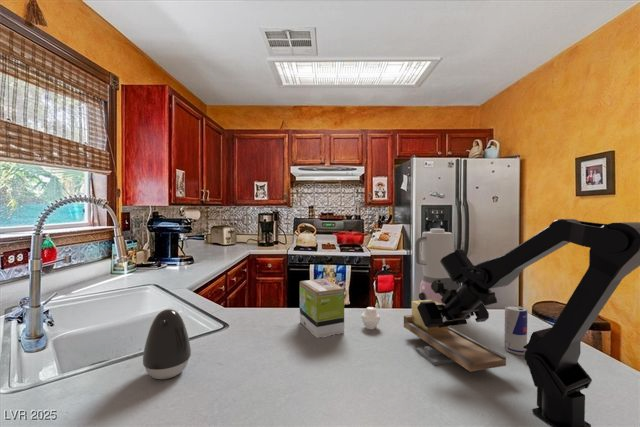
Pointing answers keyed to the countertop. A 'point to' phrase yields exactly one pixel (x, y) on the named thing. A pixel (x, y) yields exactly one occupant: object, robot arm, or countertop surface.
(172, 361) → the dark grey egg shape
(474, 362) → the seesaw beam
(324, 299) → the tea box
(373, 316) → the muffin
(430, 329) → the tan boxy block
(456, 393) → the countertop surface
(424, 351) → the pivot stand
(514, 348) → the energy drink
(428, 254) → the blender
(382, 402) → the countertop surface
